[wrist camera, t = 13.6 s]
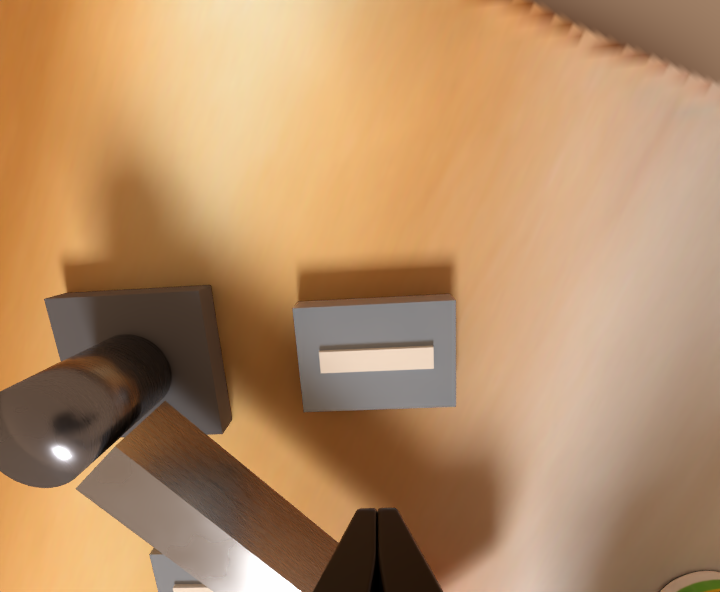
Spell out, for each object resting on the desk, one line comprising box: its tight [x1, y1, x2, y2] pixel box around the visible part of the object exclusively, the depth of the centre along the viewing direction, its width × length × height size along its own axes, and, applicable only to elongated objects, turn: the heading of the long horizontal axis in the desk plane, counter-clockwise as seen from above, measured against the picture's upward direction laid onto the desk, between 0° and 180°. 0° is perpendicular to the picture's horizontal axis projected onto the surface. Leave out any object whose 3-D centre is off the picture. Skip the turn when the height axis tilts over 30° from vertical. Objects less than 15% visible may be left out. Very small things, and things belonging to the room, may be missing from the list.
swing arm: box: [0, 334, 339, 592], centre depth 16 cm, size 24×5×5 cm, turn 46°
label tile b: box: [292, 294, 456, 412], centre depth 17 cm, size 7×5×1 cm
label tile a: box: [149, 548, 213, 592], centre depth 20 cm, size 7×5×1 cm
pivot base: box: [44, 285, 232, 437], centre depth 17 cm, size 7×7×1 cm
